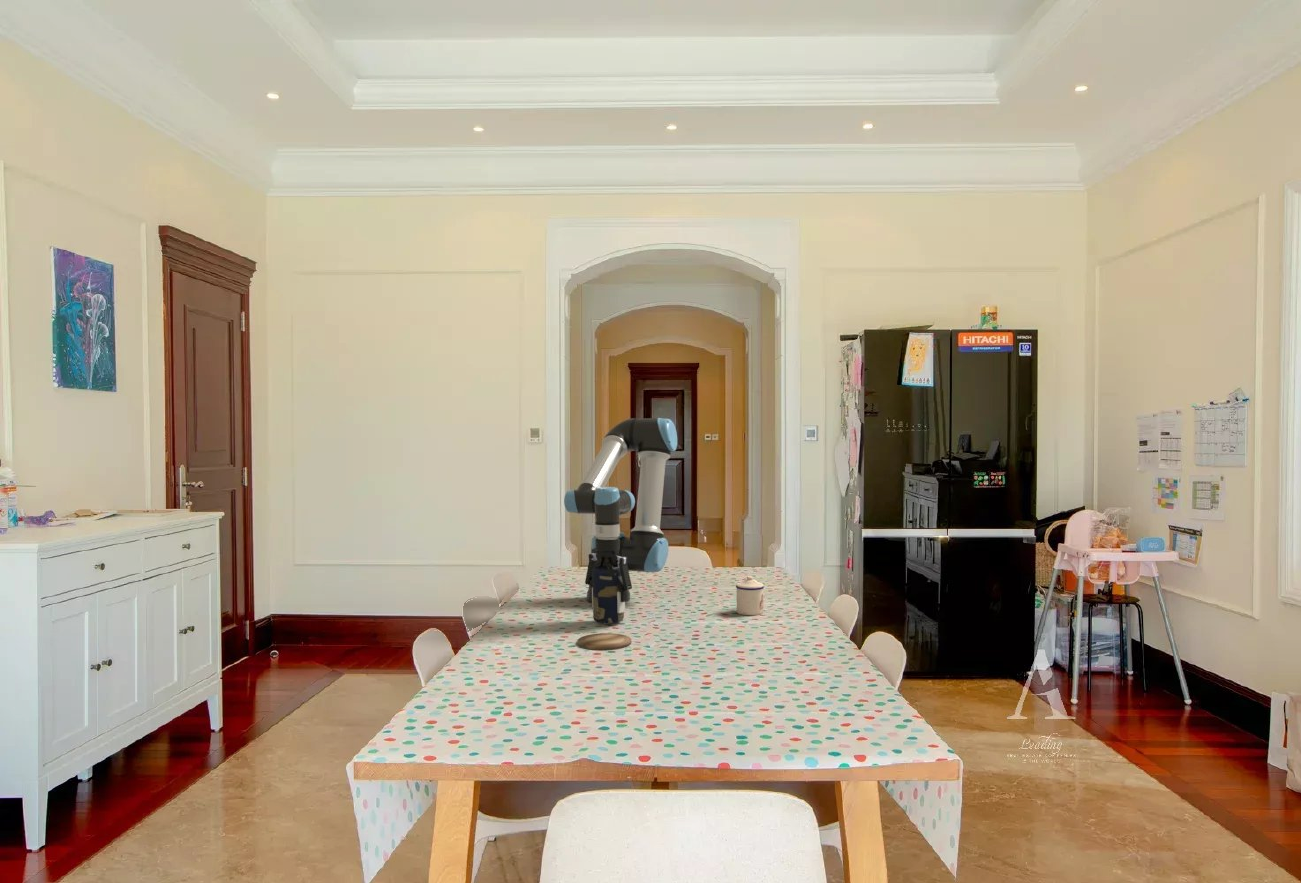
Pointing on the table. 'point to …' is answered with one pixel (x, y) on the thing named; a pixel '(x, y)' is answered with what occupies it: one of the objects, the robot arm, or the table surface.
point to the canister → (606, 595)
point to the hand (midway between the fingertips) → (608, 610)
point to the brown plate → (604, 641)
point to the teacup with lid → (749, 597)
